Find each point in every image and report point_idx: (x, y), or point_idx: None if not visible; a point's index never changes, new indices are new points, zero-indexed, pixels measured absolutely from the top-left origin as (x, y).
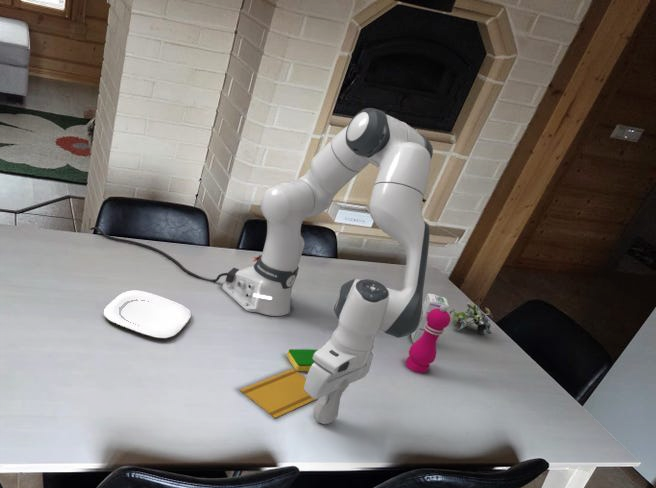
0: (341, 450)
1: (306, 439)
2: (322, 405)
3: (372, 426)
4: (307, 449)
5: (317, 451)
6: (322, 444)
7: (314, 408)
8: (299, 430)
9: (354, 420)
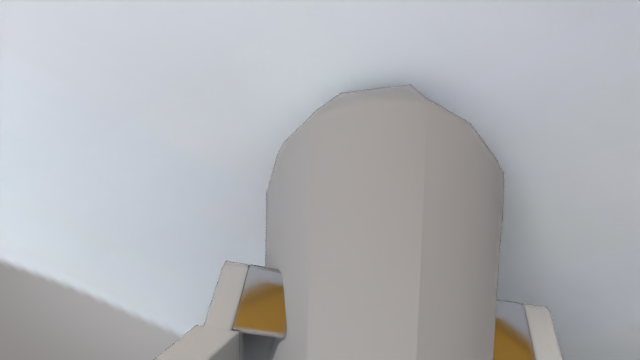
0: None
1: (89, 168)
2: (269, 264)
3: (617, 346)
4: (29, 212)
5: (82, 251)
6: (161, 244)
7: (296, 141)
8: (106, 92)
9: (594, 270)
